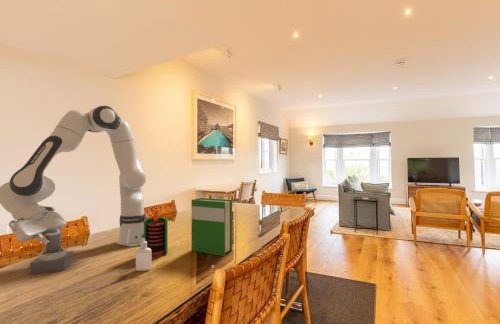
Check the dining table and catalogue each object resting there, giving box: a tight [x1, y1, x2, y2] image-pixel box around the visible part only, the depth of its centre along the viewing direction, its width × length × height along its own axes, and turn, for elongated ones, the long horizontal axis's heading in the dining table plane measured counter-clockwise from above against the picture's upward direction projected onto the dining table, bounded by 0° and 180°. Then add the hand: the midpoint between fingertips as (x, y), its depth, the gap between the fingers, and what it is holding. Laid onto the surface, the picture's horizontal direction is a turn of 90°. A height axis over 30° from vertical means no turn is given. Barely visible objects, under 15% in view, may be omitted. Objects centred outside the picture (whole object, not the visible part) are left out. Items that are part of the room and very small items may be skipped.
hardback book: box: [191, 197, 233, 257], centre depth 124 cm, size 18×7×24 cm, turn 66°
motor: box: [144, 208, 169, 258], centre depth 120 cm, size 10×9×20 cm
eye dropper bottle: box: [135, 238, 153, 272], centre depth 103 cm, size 4×6×12 cm
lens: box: [44, 228, 62, 255], centre depth 106 cm, size 5×5×10 cm
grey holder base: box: [29, 247, 75, 275], centre depth 106 cm, size 11×11×6 cm
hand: (54, 240), depth 106 cm, fingers closed on lens, 5 cm apart
